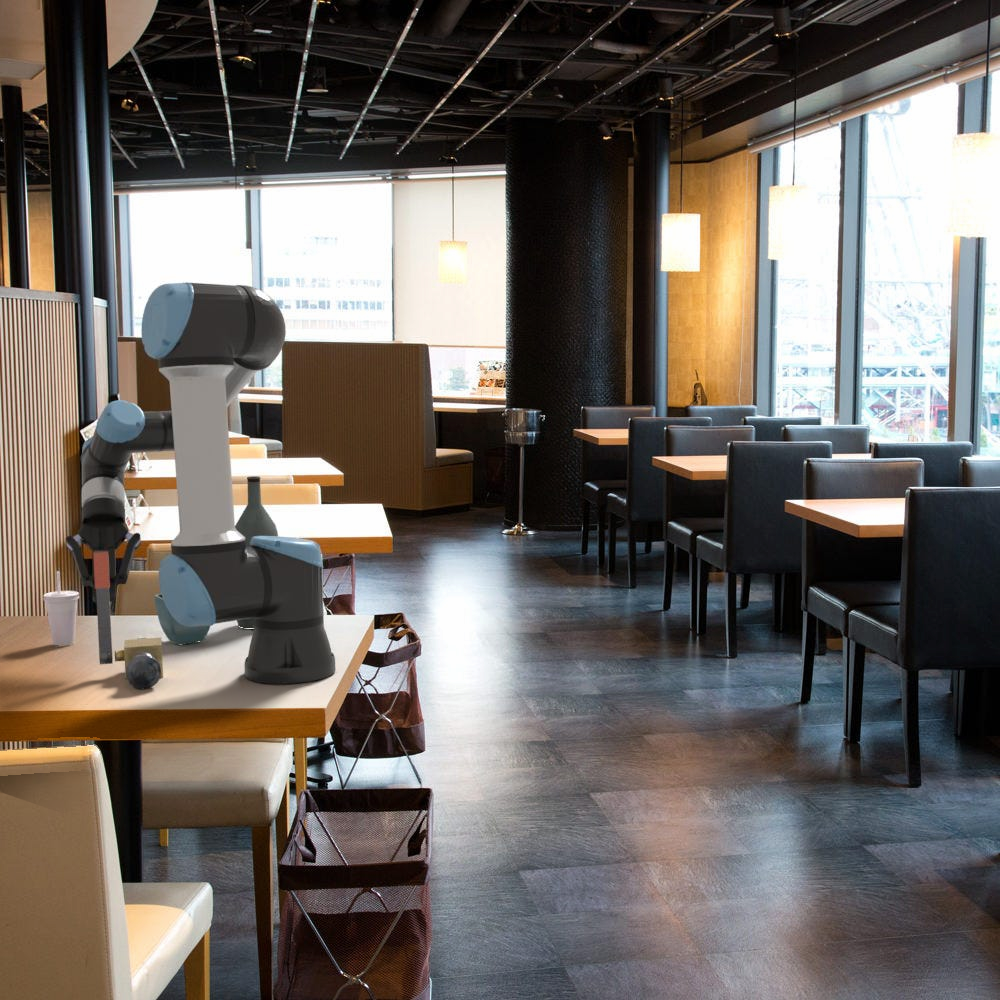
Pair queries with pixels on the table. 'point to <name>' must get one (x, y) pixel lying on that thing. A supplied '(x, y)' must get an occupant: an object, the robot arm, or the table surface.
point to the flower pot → (178, 626)
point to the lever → (103, 605)
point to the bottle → (254, 525)
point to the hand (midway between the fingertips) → (104, 615)
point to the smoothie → (62, 614)
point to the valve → (142, 661)
